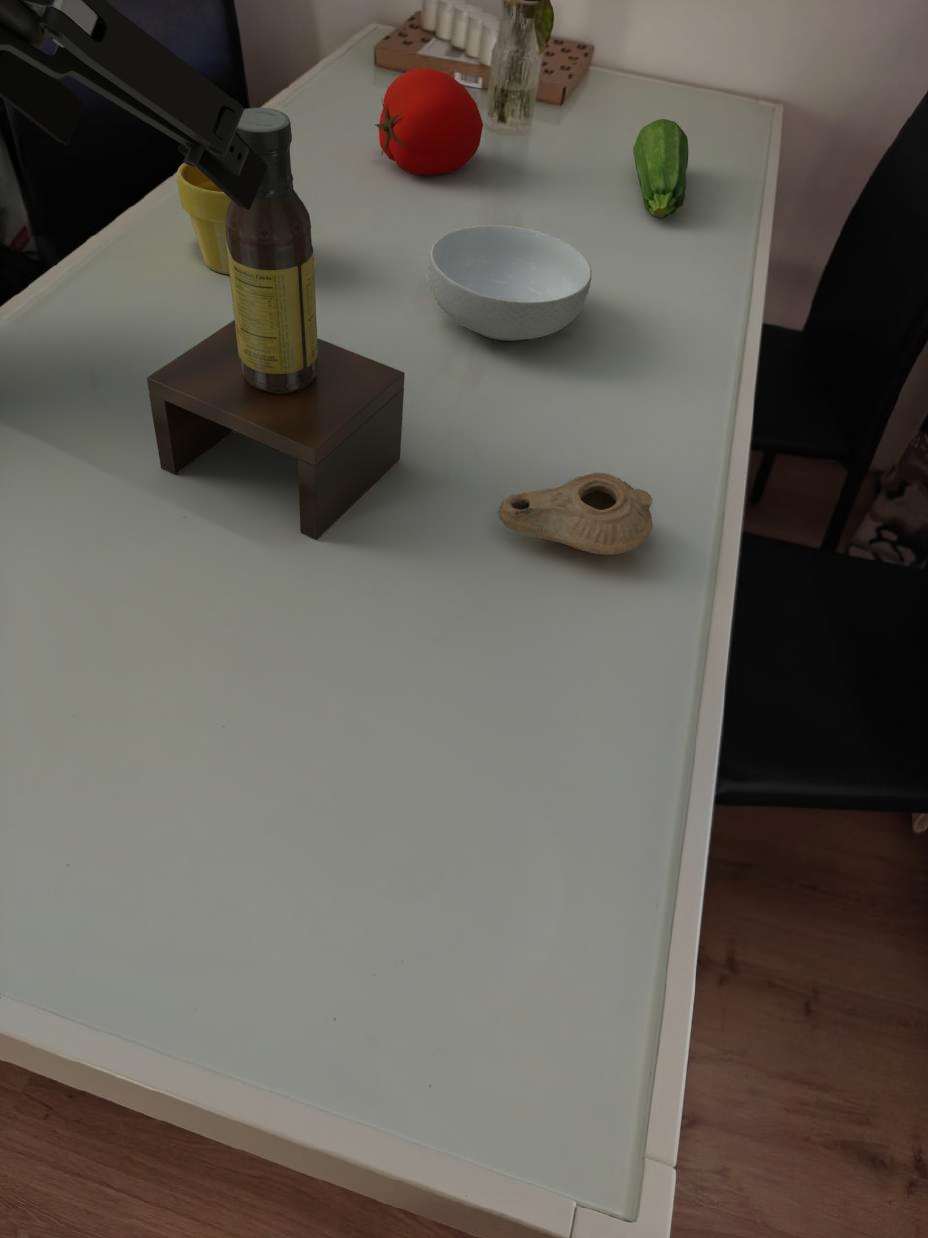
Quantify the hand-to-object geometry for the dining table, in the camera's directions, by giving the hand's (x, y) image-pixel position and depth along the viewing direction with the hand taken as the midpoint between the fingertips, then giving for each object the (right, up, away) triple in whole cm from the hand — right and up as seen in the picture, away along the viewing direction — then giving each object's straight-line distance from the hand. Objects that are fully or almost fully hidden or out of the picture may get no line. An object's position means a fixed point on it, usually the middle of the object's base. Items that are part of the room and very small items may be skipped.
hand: (160, 153), depth 59 cm
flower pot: (-7, +12, +51) cm, 53 cm away
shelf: (+2, -14, +28) cm, 31 cm away
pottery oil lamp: (+27, -21, +25) cm, 42 cm away
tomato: (+13, +32, +73) cm, 81 cm away
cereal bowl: (+22, +4, +48) cm, 53 cm away
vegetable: (+44, +29, +74) cm, 91 cm away
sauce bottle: (+3, -8, +21) cm, 23 cm away
